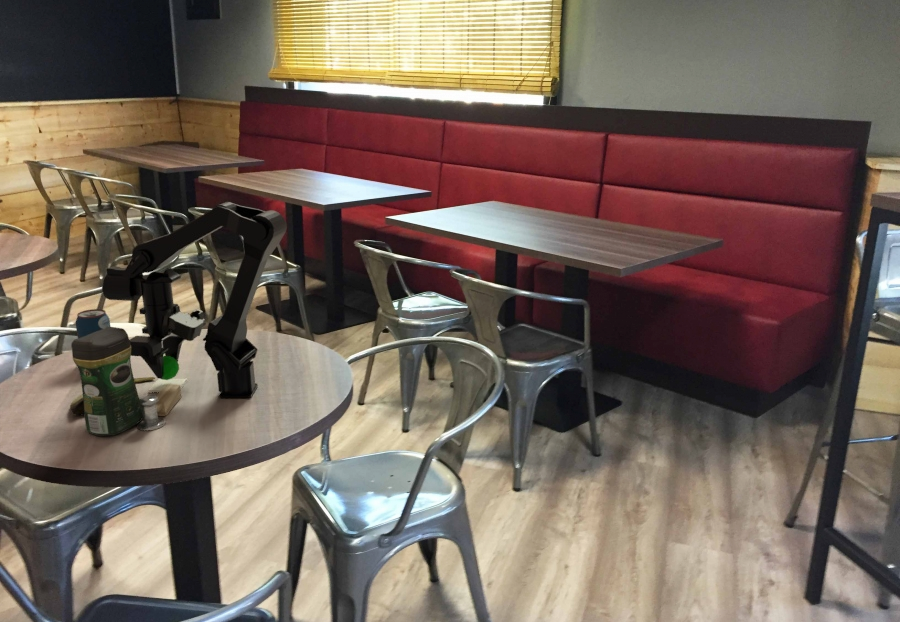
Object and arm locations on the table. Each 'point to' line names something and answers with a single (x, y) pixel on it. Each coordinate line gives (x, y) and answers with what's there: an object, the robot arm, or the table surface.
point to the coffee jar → (107, 381)
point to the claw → (78, 403)
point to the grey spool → (149, 414)
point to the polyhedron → (169, 367)
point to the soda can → (91, 322)
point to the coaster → (161, 383)
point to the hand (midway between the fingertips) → (167, 373)
